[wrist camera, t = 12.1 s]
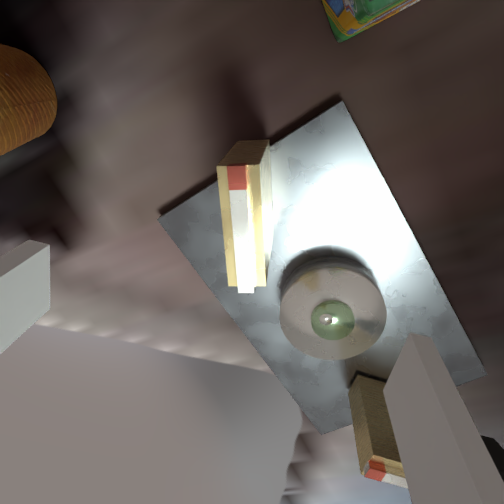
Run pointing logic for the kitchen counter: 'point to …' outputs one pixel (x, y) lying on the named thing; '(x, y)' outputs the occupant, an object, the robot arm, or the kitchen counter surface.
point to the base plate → (322, 226)
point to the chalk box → (360, 14)
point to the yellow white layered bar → (374, 432)
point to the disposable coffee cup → (23, 99)
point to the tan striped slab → (246, 213)
